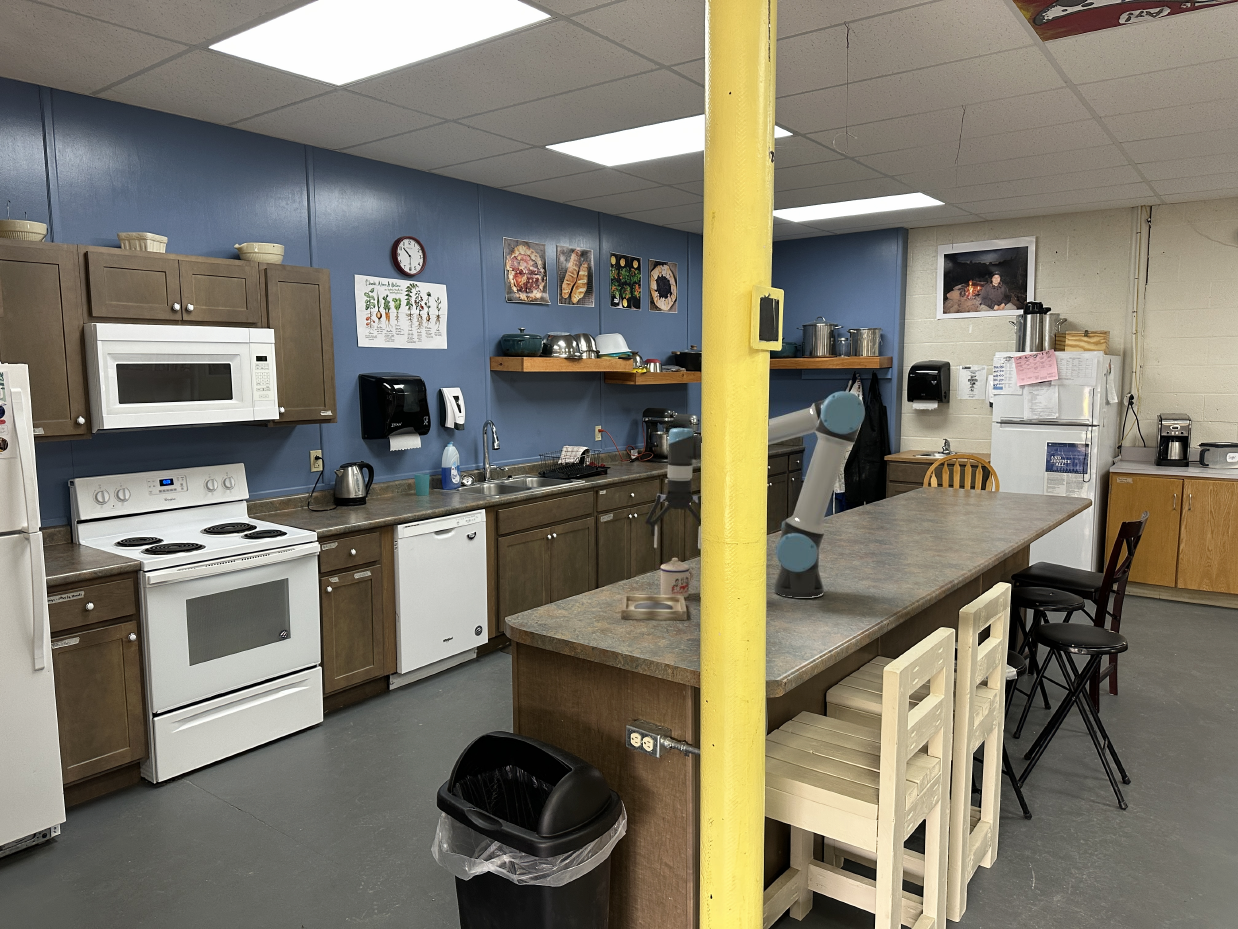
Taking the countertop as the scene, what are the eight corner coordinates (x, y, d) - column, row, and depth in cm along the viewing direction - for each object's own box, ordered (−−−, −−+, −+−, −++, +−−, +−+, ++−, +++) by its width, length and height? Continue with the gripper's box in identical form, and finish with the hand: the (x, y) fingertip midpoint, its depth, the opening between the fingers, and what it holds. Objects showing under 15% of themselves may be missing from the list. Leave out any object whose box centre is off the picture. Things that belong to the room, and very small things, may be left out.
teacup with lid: (673, 600, 248) (673, 562, 247) (653, 594, 255) (654, 557, 254) (702, 595, 255) (702, 557, 254) (682, 589, 262) (682, 553, 261)
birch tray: (683, 604, 244) (683, 595, 244) (686, 620, 227) (686, 611, 227) (622, 603, 245) (622, 594, 244) (621, 619, 228) (621, 610, 228)
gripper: (719, 478, 255) (717, 546, 257) (638, 476, 256) (637, 544, 258) (721, 481, 248) (719, 550, 250) (638, 479, 248) (637, 548, 251)
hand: (677, 547), depth 254 cm, fingers open, 13 cm apart
